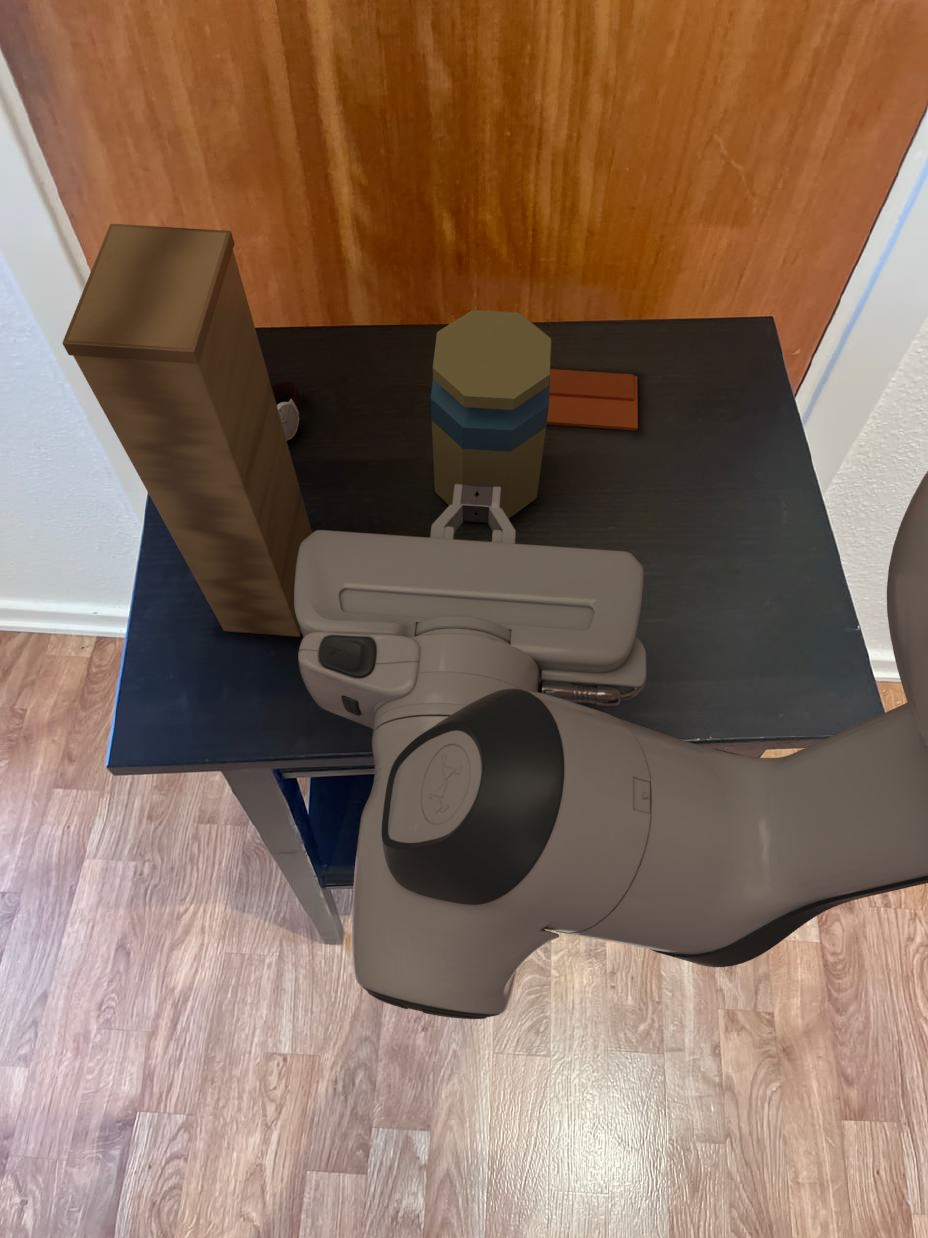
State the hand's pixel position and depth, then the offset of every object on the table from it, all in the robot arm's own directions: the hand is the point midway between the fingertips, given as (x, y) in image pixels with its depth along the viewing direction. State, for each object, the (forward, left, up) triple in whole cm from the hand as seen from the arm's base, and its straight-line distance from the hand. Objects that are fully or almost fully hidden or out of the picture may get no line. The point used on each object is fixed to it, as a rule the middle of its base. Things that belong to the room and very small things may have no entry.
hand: (477, 490), depth 54 cm
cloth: (-6, -22, -15) cm, 27 cm away
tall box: (+16, 0, -15) cm, 22 cm away
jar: (0, -12, -15) cm, 19 cm away
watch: (+19, -16, -15) cm, 29 cm away
